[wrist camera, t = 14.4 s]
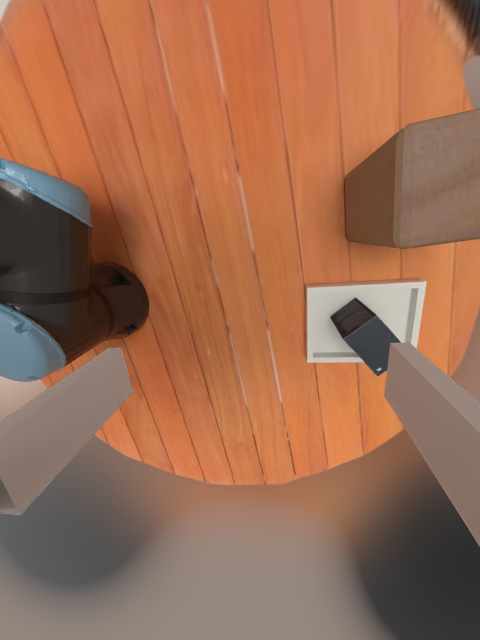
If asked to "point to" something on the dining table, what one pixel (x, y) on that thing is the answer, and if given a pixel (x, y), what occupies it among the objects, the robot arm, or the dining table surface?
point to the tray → (379, 296)
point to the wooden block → (419, 186)
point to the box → (365, 334)
